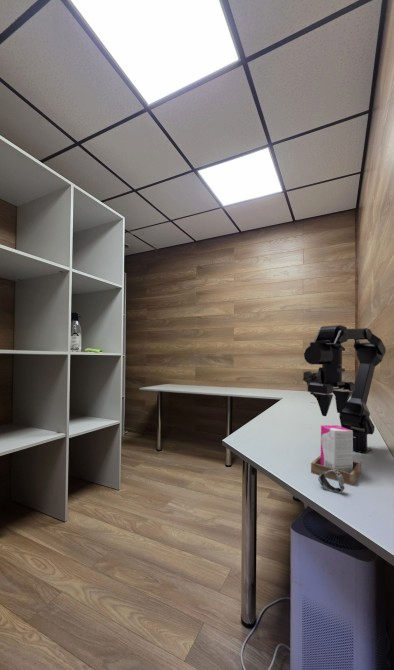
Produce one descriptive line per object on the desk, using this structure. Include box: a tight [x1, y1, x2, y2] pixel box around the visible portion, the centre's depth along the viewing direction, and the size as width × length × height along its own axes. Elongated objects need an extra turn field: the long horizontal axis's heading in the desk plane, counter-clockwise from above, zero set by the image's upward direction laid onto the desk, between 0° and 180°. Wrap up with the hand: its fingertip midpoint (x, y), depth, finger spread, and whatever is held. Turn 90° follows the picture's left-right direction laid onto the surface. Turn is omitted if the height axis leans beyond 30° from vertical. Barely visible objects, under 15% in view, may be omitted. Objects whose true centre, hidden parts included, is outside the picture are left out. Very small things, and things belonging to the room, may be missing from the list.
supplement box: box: [320, 424, 354, 473], centre depth 73 cm, size 6×6×12 cm
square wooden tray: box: [310, 454, 362, 486], centre depth 72 cm, size 10×10×2 cm
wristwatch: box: [317, 469, 346, 494], centre depth 63 cm, size 3×5×5 cm
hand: (331, 414), depth 84 cm, fingers open, 9 cm apart
